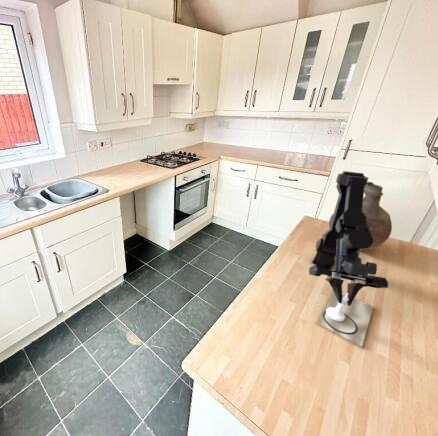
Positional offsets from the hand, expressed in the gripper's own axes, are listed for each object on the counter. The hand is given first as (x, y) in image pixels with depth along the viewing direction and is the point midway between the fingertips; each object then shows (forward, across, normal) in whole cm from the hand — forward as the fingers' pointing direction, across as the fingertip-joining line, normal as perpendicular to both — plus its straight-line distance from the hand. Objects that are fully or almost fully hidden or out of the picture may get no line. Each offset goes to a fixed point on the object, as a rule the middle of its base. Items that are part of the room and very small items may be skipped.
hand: (344, 304), depth 74 cm
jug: (-30, +17, +42) cm, 55 cm away
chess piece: (+4, 0, +6) cm, 7 cm away
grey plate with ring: (+3, +4, +8) cm, 9 cm away
